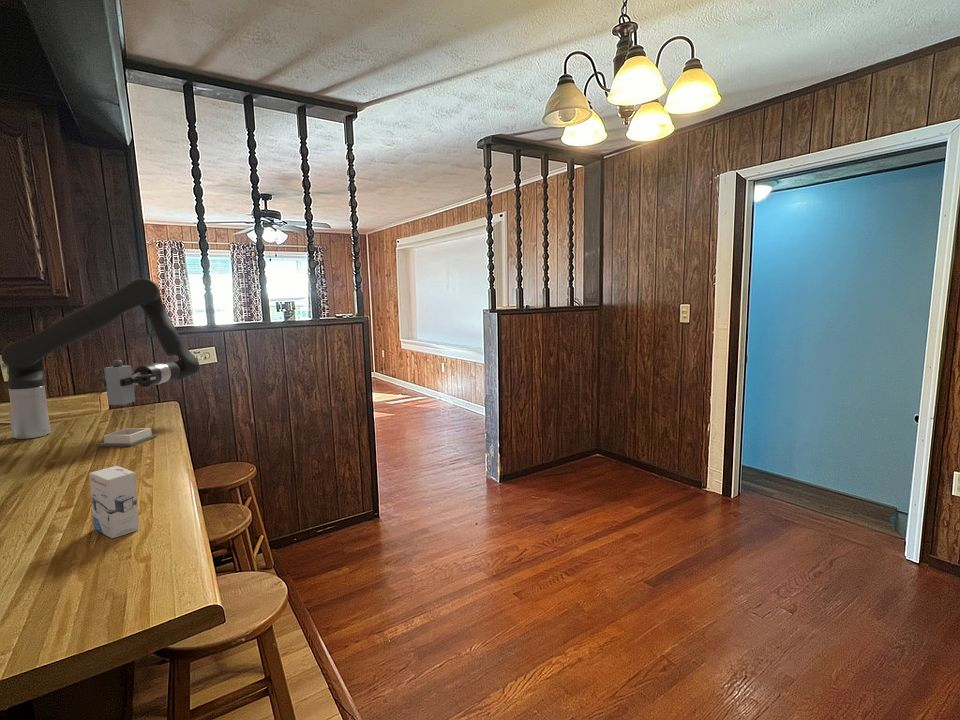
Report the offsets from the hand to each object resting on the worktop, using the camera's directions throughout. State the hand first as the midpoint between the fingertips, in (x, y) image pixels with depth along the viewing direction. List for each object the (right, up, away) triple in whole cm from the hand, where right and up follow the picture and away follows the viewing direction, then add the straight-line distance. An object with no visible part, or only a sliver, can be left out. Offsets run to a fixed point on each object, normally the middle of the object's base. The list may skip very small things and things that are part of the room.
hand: (113, 383), depth 156 cm
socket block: (+1, -19, +5) cm, 20 cm away
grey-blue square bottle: (0, -7, +3) cm, 8 cm away
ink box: (+45, -27, -59) cm, 78 cm away
